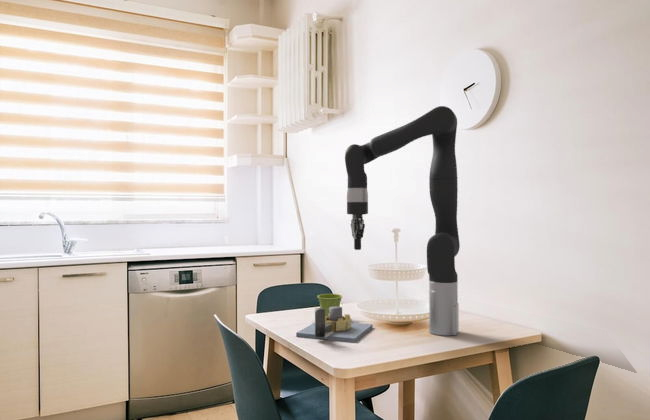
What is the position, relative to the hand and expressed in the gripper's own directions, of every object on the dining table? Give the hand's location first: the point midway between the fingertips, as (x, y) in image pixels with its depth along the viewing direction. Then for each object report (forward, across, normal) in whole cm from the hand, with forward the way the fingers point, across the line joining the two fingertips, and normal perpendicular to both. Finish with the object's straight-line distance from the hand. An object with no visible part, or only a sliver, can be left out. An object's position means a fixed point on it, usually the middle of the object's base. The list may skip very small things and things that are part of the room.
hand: (357, 249), depth 174 cm
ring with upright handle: (+26, -12, +12) cm, 31 cm away
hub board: (+27, -8, +10) cm, 30 cm away
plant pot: (+27, +12, +8) cm, 31 cm away
